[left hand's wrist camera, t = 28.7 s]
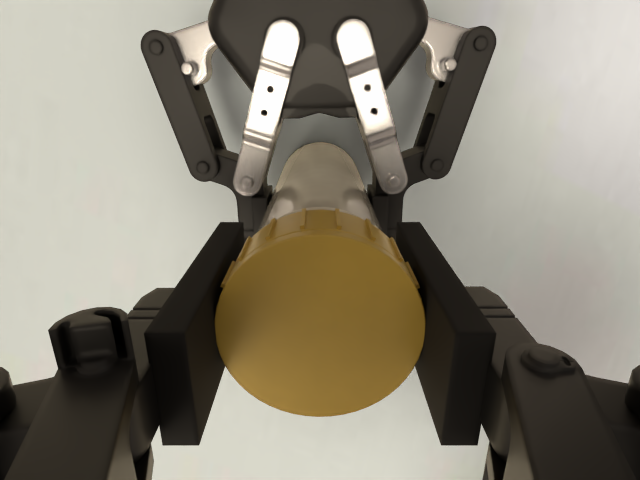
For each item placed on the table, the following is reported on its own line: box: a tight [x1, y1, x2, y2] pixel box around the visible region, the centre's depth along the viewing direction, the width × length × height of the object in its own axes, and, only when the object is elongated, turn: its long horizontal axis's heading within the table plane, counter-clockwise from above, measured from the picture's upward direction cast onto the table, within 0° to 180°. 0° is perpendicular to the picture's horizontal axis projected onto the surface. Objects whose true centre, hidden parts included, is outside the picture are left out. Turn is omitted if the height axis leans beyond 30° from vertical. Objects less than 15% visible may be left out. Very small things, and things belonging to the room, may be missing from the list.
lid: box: [215, 208, 426, 417], centre depth 11 cm, size 5×5×2 cm
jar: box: [258, 142, 382, 231], centre depth 18 cm, size 5×5×15 cm
